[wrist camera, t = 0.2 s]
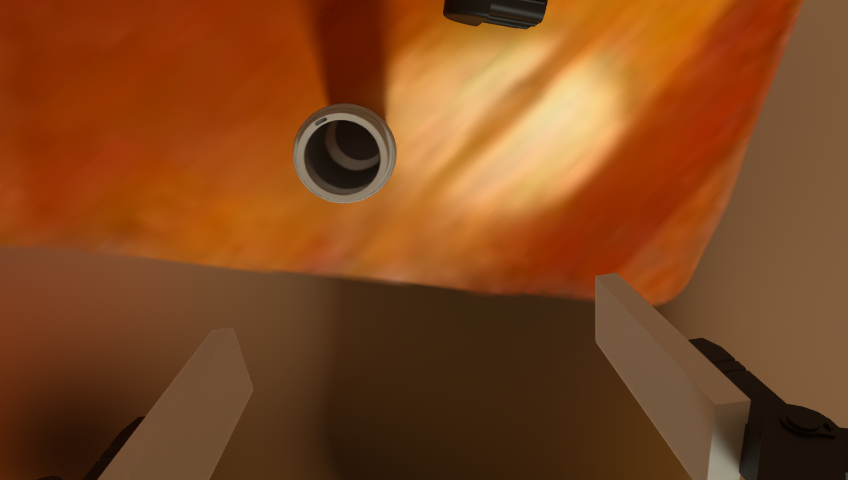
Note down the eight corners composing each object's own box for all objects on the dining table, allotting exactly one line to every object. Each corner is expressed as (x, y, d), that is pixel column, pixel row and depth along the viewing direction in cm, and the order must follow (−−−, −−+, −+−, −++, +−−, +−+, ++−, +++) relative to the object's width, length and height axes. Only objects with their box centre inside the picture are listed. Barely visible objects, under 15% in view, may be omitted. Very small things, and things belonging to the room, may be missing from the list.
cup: (376, 81, 39) (364, 84, 28) (412, 150, 41) (414, 178, 30) (306, 119, 40) (267, 137, 29) (344, 185, 42) (321, 225, 31)
